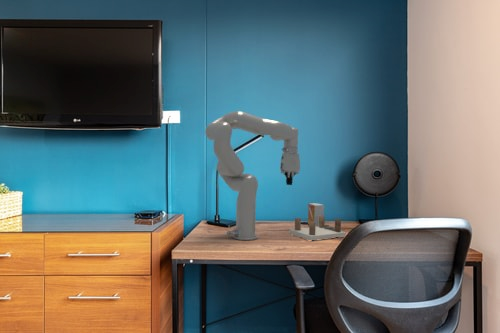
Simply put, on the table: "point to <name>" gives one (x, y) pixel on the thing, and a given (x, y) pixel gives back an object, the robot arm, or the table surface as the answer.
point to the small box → (315, 212)
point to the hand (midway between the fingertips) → (289, 184)
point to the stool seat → (314, 230)
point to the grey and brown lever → (337, 226)
